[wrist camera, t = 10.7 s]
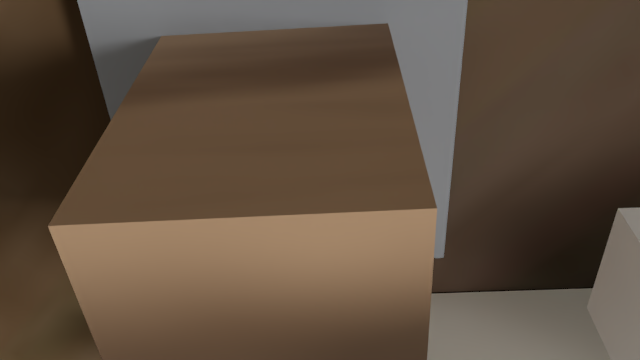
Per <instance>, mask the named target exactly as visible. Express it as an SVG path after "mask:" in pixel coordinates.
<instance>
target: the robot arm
mask: <svg viewBox="0 0 640 360" xmlns="http://www.w3.org/2000/svg"><path fill="white" fill-rule="evenodd" d="M587 309H588V311H589V313H590V315H591V318H592V320H593V322H594V324H595V326H596V328H597V331H598V333H599V335H600V337H601V339H602V341H603V344H604V346H605V348H606V350H607V352H608V354H609V357H610V359H611V360H640V208H618V210H617V213H616V216H615V219H614V222H613V226H612V229H611V232H610V235H609V238H608V242H607V245H606V248H605V251H604V254H603V258H602V261H601V264H600V267H599V270H598V273H597V277H596V280H595V283H594V286H593V289H592V293H591V296H590V299H589V302H588V305H587Z"/></svg>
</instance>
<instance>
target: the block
mask: <svg viewBox="0 0 640 360" xmlns="http://www.w3.org/2000/svg"><path fill="white" fill-rule="evenodd" d="M436 218H437V206H436V202H435V198H434V195H433V191H432V187H431V183H430V180H429V176H428V172H427V168H426V164H425V161H424V157H423V153H422V149H421V146H420V142H419V138H418V134H417V131H416V127H415V123H414V119H413V115H412V112H411V108H410V104H409V100H408V97H407V93H406V89H405V85H404V82H403V78H402V74H401V70H400V66H399V63H398V59H397V55H396V51H395V48H394V44H393V40H392V36H391V33H390V29H389V25H388V23H386V24H368V25H350V26H332V27H314V28H296V29H278V30H260V31H242V32H224V33H206V34H188V35H170V36H161V38H160V39H159V41H158V43H157V44H156V46H155V48H154V49H153V51H152V53H151V54H150V56H149V58H148V59H147V61H146V63H145V64H144V66H143V68H142V69H141V71H140V73H139V74H138V76H137V78H136V79H135V81H134V83H133V84H132V86H131V88H130V89H129V91H128V93H127V94H126V96H125V98H124V99H123V101H122V103H121V104H120V106H119V108H118V110H117V111H116V113H115V115H114V116H113V118H112V120H111V121H110V123H109V125H108V126H107V128H106V130H105V131H104V133H103V135H102V136H101V138H100V140H99V141H98V143H97V145H96V146H95V148H94V150H93V151H92V153H91V155H90V156H89V158H88V160H87V161H86V163H85V165H84V166H83V168H82V170H81V171H80V173H79V175H78V176H77V178H76V180H75V181H74V183H73V185H72V186H71V188H70V190H69V191H68V193H67V195H66V196H65V198H64V200H63V201H62V203H61V205H60V206H59V208H58V210H57V211H56V213H55V215H54V216H53V218H52V220H51V221H50V223H49V225H48V228H49V230H50V233H51V235H52V238H53V240H54V242H55V245H56V247H57V250H58V252H59V255H60V257H61V260H62V262H63V265H64V267H65V270H66V272H67V275H68V277H69V279H70V282H71V284H72V287H73V289H74V292H75V294H76V297H77V299H78V302H79V304H80V307H81V309H82V311H83V314H84V316H85V319H86V321H87V324H88V326H89V329H90V331H91V334H92V336H93V339H94V341H95V344H96V346H97V348H98V351H99V353H100V356H101V358H102V360H427V352H428V337H429V322H430V308H431V293H432V278H433V263H434V248H435V233H436Z"/></svg>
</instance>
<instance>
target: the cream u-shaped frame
mask: <svg viewBox="0 0 640 360" xmlns="http://www.w3.org/2000/svg"><path fill="white" fill-rule="evenodd" d="M592 289H593V288H585V289H555V290H525V291H494V292H464V293H434V294H431V308H430V322H429V337H428V352H427V360H611V359H610V357H609V354H608V352H607V350H606V348H605V346H604V344H603V341H602V339H601V337H600V335H599V333H598V331H597V328H596V326H595V324H594V322H593V320H592V318H591V315H590V313H589V311H588V309H587V305H588V302H589V299H590V296H591V293H592Z"/></svg>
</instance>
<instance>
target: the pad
mask: <svg viewBox="0 0 640 360" xmlns="http://www.w3.org/2000/svg"><path fill="white" fill-rule="evenodd" d="M77 2H78V5H79V9H80V13H81V16H82V20H83V23H84V27H85V30H86V34H87V38H88V41H89V45H90V48H91V52H92V55H93V59H94V63H95V66H96V70H97V73H98V77H99V81H100V84H101V88H102V91H103V95H104V98H105V102H106V106H107V109H108V113H109V116H110V120H112V118H113V116H114V115H115V113H116V111H117V110H118V108H119V106H120V104H121V103H122V101H123V99H124V98H125V96H126V94H127V93H128V91H129V89H130V88H131V86H132V84H133V83H134V81H135V79H136V78H137V76H138V74H139V73H140V71H141V69H142V68H143V66H144V64H145V63H146V61H147V59H148V58H149V56H150V54H151V53H152V51H153V49H154V48H155V46H156V44H157V43H158V41H159V39H160V38H161V36H170V35H188V34H206V33H224V32H242V31H260V30H278V29H296V28H314V27H332V26H350V25H368V24H386V23H388V25H389V29H390V33H391V36H392V40H393V44H394V48H395V51H396V55H397V59H398V63H399V66H400V70H401V74H402V78H403V82H404V85H405V89H406V93H407V97H408V100H409V104H410V108H411V112H412V115H413V119H414V123H415V127H416V131H417V134H418V138H419V142H420V146H421V149H422V153H423V157H424V161H425V164H426V168H427V172H428V176H429V180H430V183H431V187H432V191H433V195H434V198H435V202H436V206H437V218H436V233H435V248H434V258H444V249H445V238H446V227H447V216H448V206H449V195H450V184H451V173H452V163H453V152H454V141H455V131H456V120H457V109H458V98H459V88H460V77H461V66H462V56H463V45H464V34H465V23H466V13H467V2H468V0H77Z"/></svg>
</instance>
